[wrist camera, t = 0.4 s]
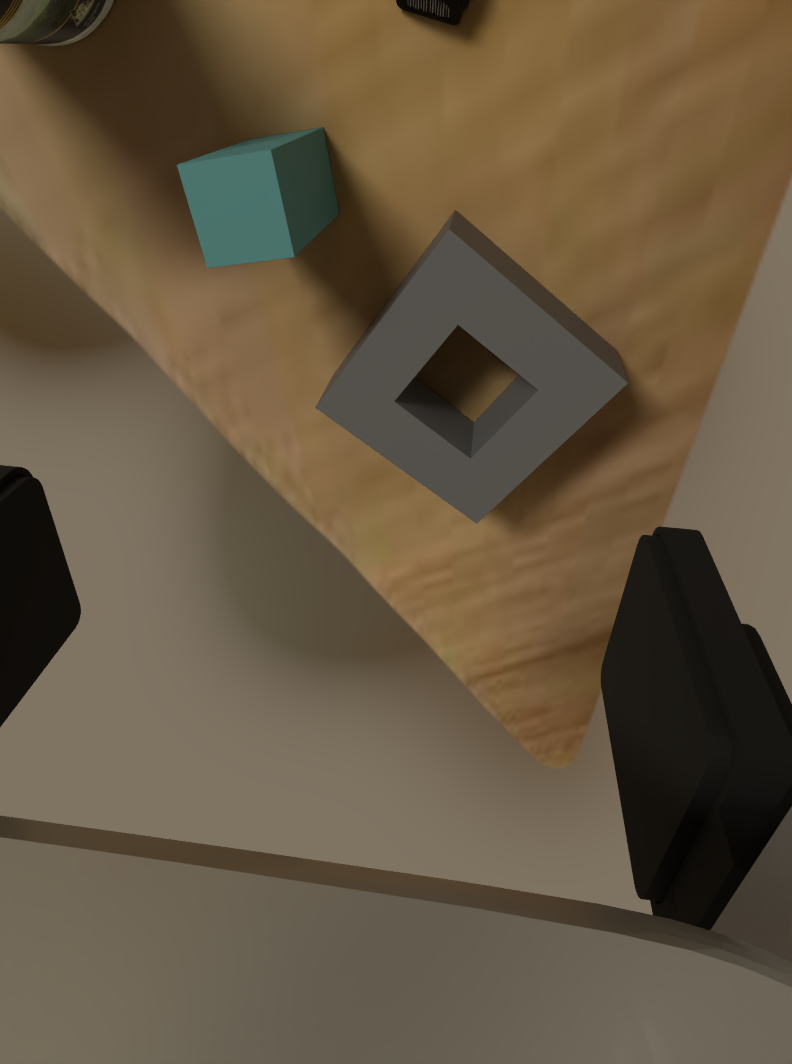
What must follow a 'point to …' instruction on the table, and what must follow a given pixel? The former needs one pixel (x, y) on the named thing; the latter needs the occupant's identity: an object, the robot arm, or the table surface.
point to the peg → (260, 197)
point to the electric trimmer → (436, 9)
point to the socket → (503, 328)
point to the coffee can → (50, 20)
